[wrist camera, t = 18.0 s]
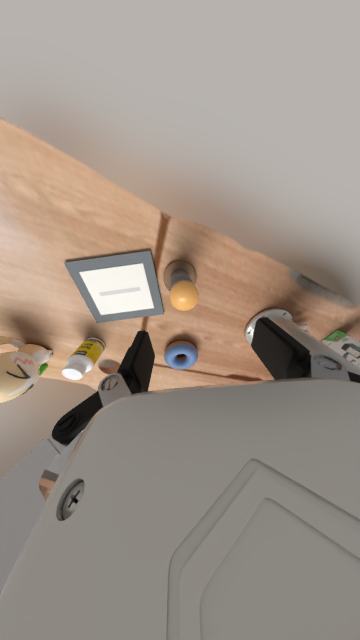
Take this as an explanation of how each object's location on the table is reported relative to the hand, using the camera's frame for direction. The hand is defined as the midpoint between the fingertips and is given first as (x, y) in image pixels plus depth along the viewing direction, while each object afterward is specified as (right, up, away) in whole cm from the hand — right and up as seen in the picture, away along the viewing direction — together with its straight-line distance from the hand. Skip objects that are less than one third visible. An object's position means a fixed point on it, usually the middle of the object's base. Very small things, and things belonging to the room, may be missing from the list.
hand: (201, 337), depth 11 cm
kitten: (-42, -7, +25) cm, 49 cm away
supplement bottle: (-26, -5, +25) cm, 37 cm away
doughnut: (-2, -8, +29) cm, 30 cm away
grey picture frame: (-15, +8, +17) cm, 25 cm away
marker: (-2, +10, +16) cm, 19 cm away
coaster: (-2, +11, +17) cm, 20 cm away
